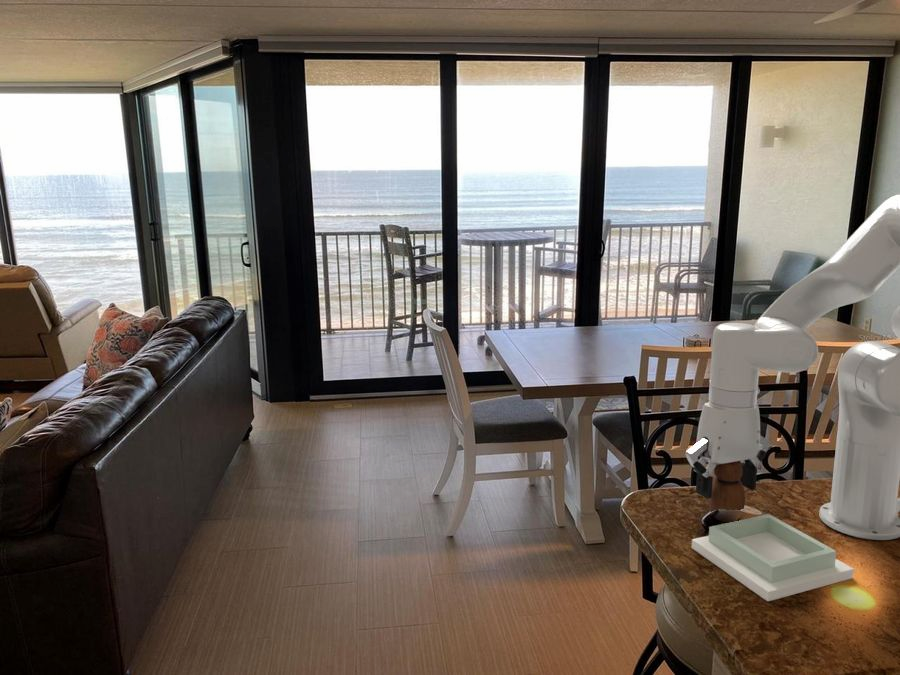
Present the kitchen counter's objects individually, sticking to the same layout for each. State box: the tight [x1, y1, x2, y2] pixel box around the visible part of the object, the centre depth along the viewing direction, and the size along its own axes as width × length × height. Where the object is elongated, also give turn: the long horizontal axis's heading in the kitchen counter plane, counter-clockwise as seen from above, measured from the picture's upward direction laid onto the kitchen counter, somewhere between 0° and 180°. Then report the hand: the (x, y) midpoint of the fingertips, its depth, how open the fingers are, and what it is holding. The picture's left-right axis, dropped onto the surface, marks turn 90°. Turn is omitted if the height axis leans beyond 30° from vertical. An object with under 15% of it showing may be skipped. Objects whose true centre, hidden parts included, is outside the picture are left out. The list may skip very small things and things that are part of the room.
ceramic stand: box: [691, 513, 855, 602], centre depth 104 cm, size 16×16×4 cm
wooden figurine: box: [707, 461, 746, 513], centre depth 117 cm, size 7×6×15 cm
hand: (725, 491), depth 118 cm, fingers open, 9 cm apart
